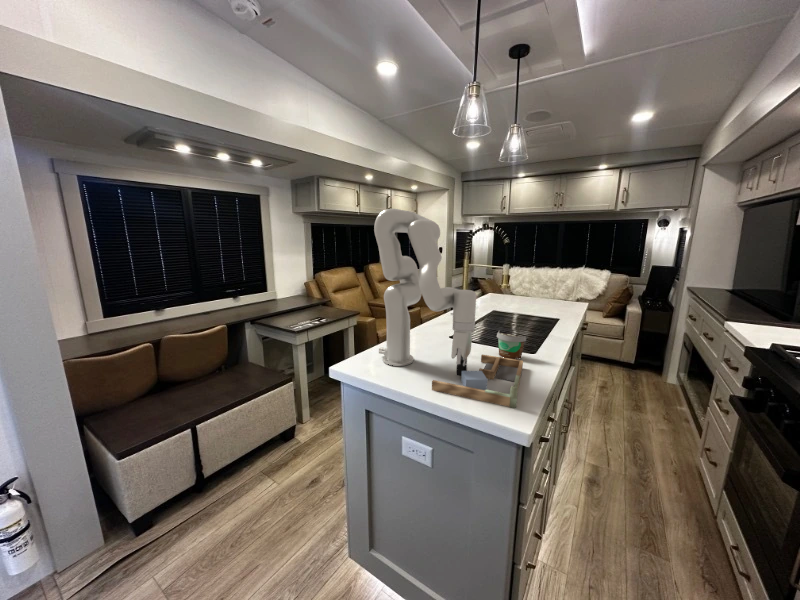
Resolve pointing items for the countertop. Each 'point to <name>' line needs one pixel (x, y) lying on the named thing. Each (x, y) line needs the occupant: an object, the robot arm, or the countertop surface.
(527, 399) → the countertop surface
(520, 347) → the food container
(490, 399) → the box
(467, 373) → the block
